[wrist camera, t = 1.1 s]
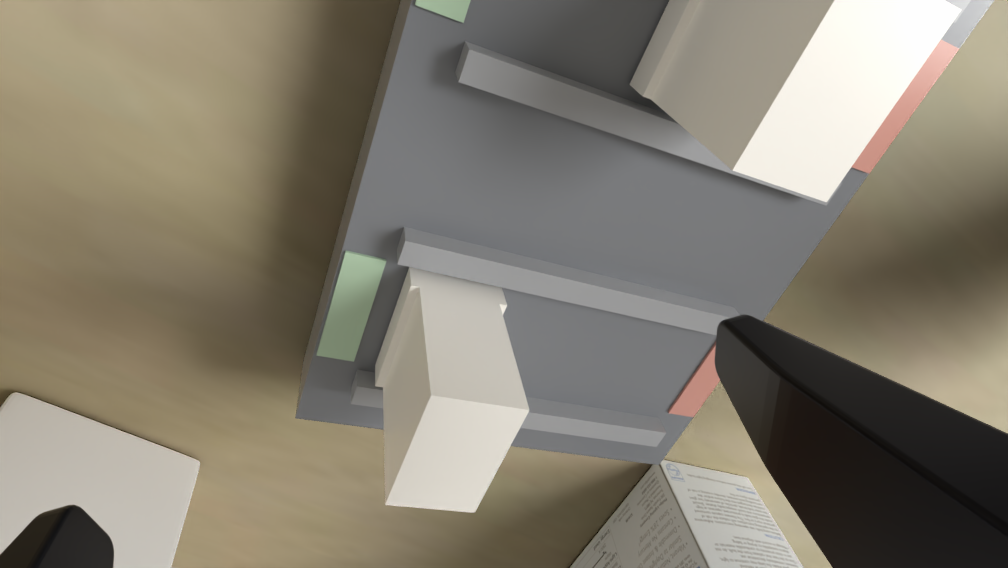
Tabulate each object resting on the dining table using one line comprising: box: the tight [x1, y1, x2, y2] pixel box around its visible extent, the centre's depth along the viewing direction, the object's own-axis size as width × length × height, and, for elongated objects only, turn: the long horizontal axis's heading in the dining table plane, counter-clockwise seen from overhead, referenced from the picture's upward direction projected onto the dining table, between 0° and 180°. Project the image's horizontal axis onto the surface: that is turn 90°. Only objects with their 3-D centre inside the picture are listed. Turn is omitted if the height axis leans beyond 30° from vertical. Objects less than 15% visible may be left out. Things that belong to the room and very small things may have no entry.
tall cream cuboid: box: [375, 267, 529, 513], centre depth 18 cm, size 3×4×5 cm
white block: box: [629, 0, 962, 202], centre depth 14 cm, size 3×4×5 cm
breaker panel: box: [295, 0, 994, 465], centre depth 20 cm, size 15×21×4 cm
